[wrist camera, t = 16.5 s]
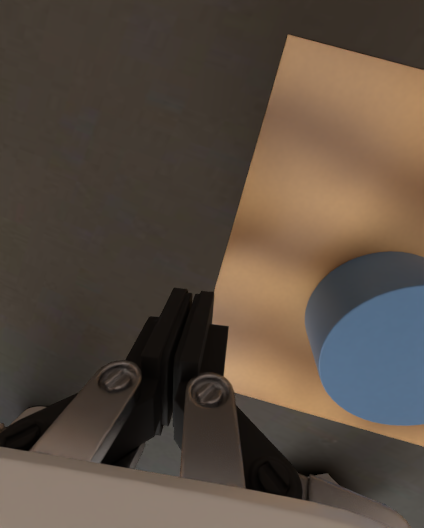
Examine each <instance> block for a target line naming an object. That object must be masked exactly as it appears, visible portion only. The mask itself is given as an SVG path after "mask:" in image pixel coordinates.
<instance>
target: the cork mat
mask: <svg viewBox="0 0 424 528" xmlns="http://www.w3.org/2000/svg"><path fill="white" fill-rule="evenodd" d="M389 251H392V252H405V253H411V254H415V255H418V256H422V257H424V70H421V69H417V68H413V67H409V66H406V65H402V64H398V63H394V62H391V61H387V60H383V59H379V58H375V57H372V56H368V55H364V54H360V53H356V52H353V51H349V50H345V49H341V48H337V47H334V46H330V45H326V44H322V43H318V42H315V41H311V40H307V39H303V38H300V37H296V36H292V35H288V36H287V40H286V43H285V47H284V50H283V53H282V57H281V60H280V64H279V67H278V71H277V74H276V78H275V81H274V85H273V88H272V92H271V95H270V99H269V102H268V106H267V109H266V113H265V116H264V120H263V123H262V127H261V130H260V134H259V137H258V140H257V144H256V147H255V151H254V154H253V158H252V161H251V165H250V168H249V172H248V175H247V179H246V182H245V186H244V189H243V193H242V196H241V200H240V203H239V207H238V210H237V214H236V217H235V220H234V224H233V227H232V231H231V234H230V238H229V241H228V245H227V248H226V252H225V255H224V259H223V262H222V266H221V269H220V273H219V276H218V280H217V283H216V287H215V290H214V306H213V318H212V324H216V325H223V326H229V330H228V339H227V349H226V358H225V368H224V377H225V378H226V379H228V380H229V382H230V383H231V384H232V386H233V390H234V392H235V393H238V394H242V395H245V396H249V397H252V398H256V399H259V400H263V401H266V402H270V403H273V404H277V405H280V406H284V407H287V408H291V409H294V410H298V411H301V412H305V413H308V414H312V415H315V416H319V417H322V418H326V419H329V420H333V421H336V422H340V423H343V424H347V425H350V426H354V427H357V428H361V429H364V430H368V431H371V432H375V433H378V434H382V435H385V436H389V437H392V438H396V439H399V440H403V441H406V442H410V443H413V444H417V445H420V446H424V424H421V425H409V426H397V425H386V424H380V423H375V422H371V421H368V420H364V419H362V418H359V417H357V416H355V415H353V414H351V413H349V412H347V411H346V410H344V409H343V408H341V407H340V406H339V405H338V404H337V403H336V402H334V401H333V400H332V399H331V397H330V396H329V395H328V394H327V392H326V391H325V389H324V387H323V385H322V383H321V380H320V377H319V374H318V370H317V367H316V363H315V360H314V356H313V353H312V350H311V346H310V343H309V339H308V336H307V332H306V328H305V311H306V307H307V303H308V301H309V298H310V296H311V294H312V293H313V291H314V290H315V288H316V287H317V285H318V284H319V283H320V282H321V281H322V279H323V278H325V277H326V276H327V275H328V274H329V273H330V272H331V271H333V270H334V269H336V268H337V267H339V266H340V265H342V264H344V263H346V262H348V261H350V260H352V259H355V258H357V257H360V256H364V255H367V254H372V253H377V252H389Z"/></svg>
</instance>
